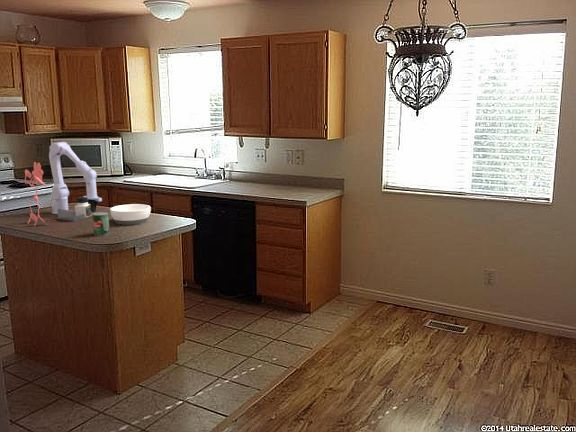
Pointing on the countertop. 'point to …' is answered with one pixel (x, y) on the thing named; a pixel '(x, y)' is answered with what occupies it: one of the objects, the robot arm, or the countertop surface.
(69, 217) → the bracket
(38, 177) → the figurine
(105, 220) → the canned tomato
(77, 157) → the robot arm
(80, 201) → the medicine bottle
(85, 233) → the countertop surface
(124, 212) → the bowl
